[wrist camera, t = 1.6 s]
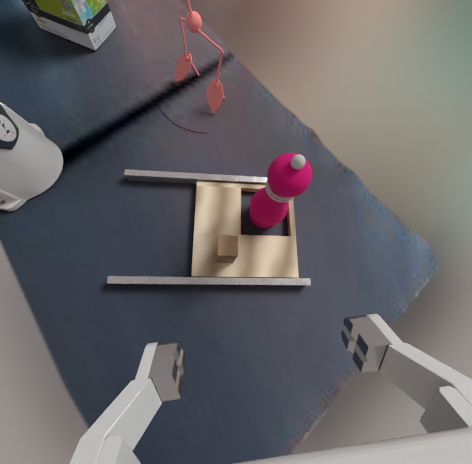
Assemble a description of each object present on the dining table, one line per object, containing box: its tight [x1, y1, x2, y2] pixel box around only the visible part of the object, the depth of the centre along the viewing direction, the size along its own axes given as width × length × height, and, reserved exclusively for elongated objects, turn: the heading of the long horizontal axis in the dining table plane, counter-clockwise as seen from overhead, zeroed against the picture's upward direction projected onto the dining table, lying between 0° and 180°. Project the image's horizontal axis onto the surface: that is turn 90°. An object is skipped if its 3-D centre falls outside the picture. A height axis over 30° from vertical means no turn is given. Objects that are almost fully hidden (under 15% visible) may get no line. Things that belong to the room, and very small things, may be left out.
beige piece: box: [191, 181, 299, 278], centre depth 38 cm, size 20×19×10 cm
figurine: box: [161, 0, 225, 133], centre depth 34 cm, size 15×26×35 cm, turn 44°
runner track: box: [107, 169, 311, 285], centre depth 42 cm, size 36×22×2 cm, turn 90°
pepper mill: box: [249, 153, 312, 228], centre depth 35 cm, size 7×7×20 cm
